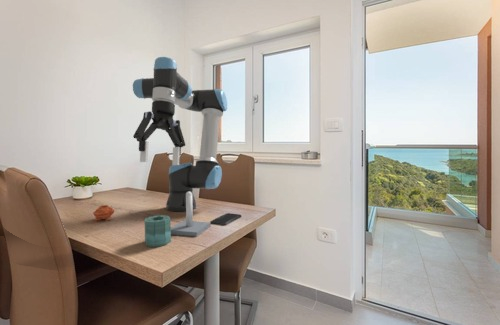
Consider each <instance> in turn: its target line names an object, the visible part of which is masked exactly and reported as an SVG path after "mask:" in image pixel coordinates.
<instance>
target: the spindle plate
mask: <svg viewBox="0 0 500 325" xmlns="http://www.w3.org/2000/svg"><path fill="white" fill-rule="evenodd" d="M193 211H194V209H193V205H192V193H191V192H187V193H186V211H185V213H186V214H185V217H186V218H185V220H184V219H183V220H181V221H180V222H178V223H176V224H175V225H172V226H171V235H174V236H175V235H177V236H188V237H199V235H201V234H203V232H205V231H206V230H209V228H211V225H212V224H211V222H210V221H199V220H198V221H197V220H196V221H195V220H194V217H193Z"/></svg>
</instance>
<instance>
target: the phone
mask: <svg viewBox="0 0 500 325" xmlns="http://www.w3.org/2000/svg"><path fill="white" fill-rule="evenodd" d="M240 218H242V214H238V213H230V212H228V213H224V214H222V215H220V216H218V217H216V218H213V219H211V220H210V221H209V222H211V225H216V226H227V225H229V224H231V223H233V222H235V221H237V220H238V219H240Z"/></svg>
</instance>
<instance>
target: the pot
mask: <svg viewBox="0 0 500 325" xmlns="http://www.w3.org/2000/svg"><path fill="white" fill-rule="evenodd" d="M114 213H115V209H114V208H113V207H111V206H109V205H108V204H107V205H100V206H98V208H96V210H94V212H93V216H94V217H95V220H96V221H97V222H98V221H99V219H101V220H103V219H104V220H105V219H107V220H108V221H111V217H112V216H113V214H114Z"/></svg>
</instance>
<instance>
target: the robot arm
mask: <svg viewBox="0 0 500 325" xmlns="http://www.w3.org/2000/svg"><path fill="white" fill-rule="evenodd" d="M177 70H178V64H177V62H176V61H175V60H174V59H173V58H171V57H167V56H159V57H157V58H155V60H154V63H153V77H151V78H149V77H148V78H144V77H143V78H138V79H135V80H134V81H133V82H132V91H133V94H134V96H136V97H137V98H138V99H143V100H145V99H151V100H152V103H151V111H144V113H143V118H142V120H141V121H140V123H139V125H138V126H137V128H136V130H135V132H134V134H133V139H136V141H137V142H138V151H139V163H148V161H149V160H148V159H149V158H148V157H149V141H147V140H148V139H149V138H150V137H151V136H152V135H153V133H154V132H155V131H156V130H157V129H158V130H162V131H165V132H166V133H167V134H168V136H169V138H170V140H171V142H172V144H173V147H172V160H171V161H172V162H171V163H172V164H171V165H170V166H169V168H168V186H169V189H168V190H169V193H168V197H167V201H166V203H165V209H166V211H169V212H186V193H187V192H191V193H192V205H193V210H195V209H196V208H197V200H196V199H195V198H196V197H195V196H194V192H193V189H203V190H212V189H213V190H214V189H217V188H218V187H219V185H221V182H222V177H223V172H222V171H223V170H222V167H221V165H219V162H218V160H217V154H218V144H219V133H220V132H219V130H220V120H221V118H222V117H223V114H224V112H226V111H227V110H228V101H227V95H226V93H225V91H224V90H223V89H220V88H218V89H217V88H213V89H196V90H193V88H192V86H191V84H190V83H189V82H188V81H187V80H186V79H185V78H184V77H183V76H181V74H180V73H178V71H177ZM176 106H178V107H179V108H181V109H184V110H188V111H192V112H197V113H201V114H202V116H203V119H202V131H201V139H200V150H199V158H198V159H197V160H196V161H195V165H193V163H192V162H186V163H185V162H184V163H180V157H181V154H182V151H181V150H182V148H184V147H185V146H186V142H185V139H184V135H183V132H182V129H181V121H180V120H179V119H177V120H175V119H174V115H175V113H176ZM151 120H152V123H150V122H151ZM149 124H150V125H149Z"/></svg>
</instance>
